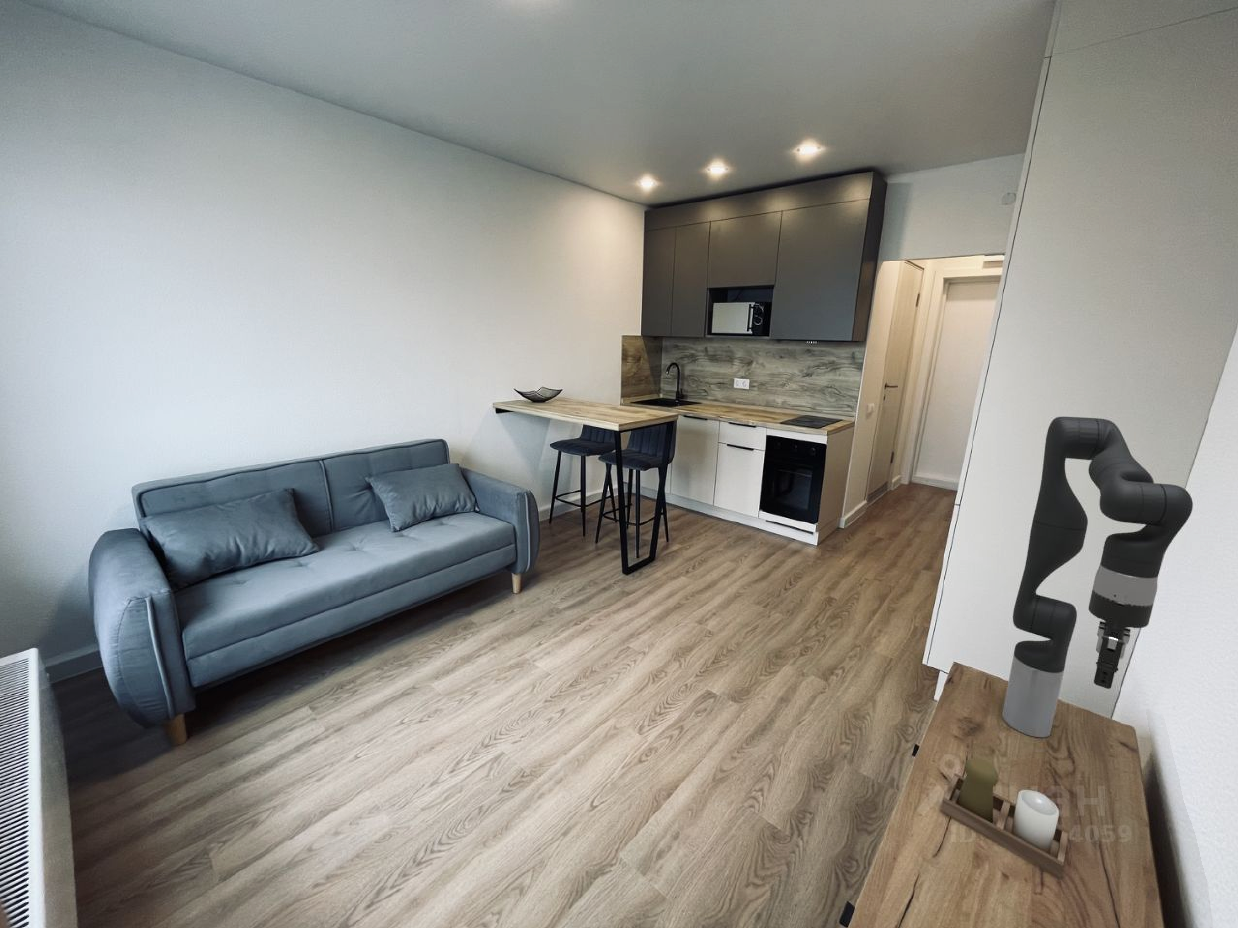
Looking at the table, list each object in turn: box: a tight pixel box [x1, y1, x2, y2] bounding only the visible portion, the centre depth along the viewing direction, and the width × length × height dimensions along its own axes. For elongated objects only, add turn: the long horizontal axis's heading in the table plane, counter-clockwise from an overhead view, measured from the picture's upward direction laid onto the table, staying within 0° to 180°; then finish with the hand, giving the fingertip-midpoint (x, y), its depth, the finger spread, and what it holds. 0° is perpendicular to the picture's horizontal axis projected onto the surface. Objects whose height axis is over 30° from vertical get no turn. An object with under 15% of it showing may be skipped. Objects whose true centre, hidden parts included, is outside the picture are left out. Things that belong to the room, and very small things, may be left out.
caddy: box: [940, 773, 1069, 880], centre depth 92 cm, size 9×18×4 cm, turn 44°
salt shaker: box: [1011, 789, 1060, 855], centre depth 88 cm, size 6×6×10 cm
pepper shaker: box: [956, 757, 999, 823], centre depth 94 cm, size 6×6×11 cm
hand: (1103, 675), depth 89 cm, fingers open, 8 cm apart
